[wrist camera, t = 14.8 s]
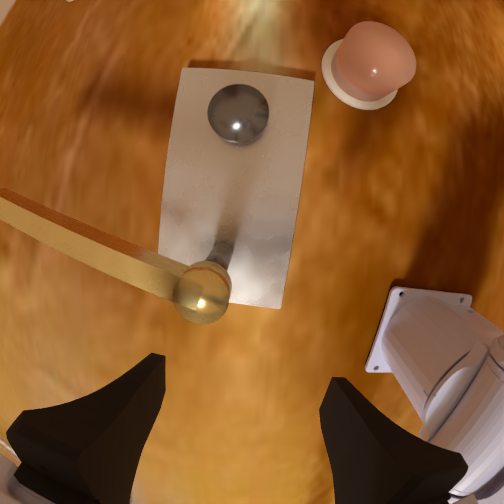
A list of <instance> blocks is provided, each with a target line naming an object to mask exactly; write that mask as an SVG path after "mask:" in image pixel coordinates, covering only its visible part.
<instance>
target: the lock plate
mask: <svg viewBox="0 0 504 504" xmlns="http://www.w3.org/2000/svg"><path fill="white" fill-rule="evenodd" d="M314 82H315V81H311V80H306V79H300V78H294V77H288V76H282V75H275V74H268V73H260V72H251V71H241V70H229V69H212V68H182V72H181V77H180V82H179V87H178V92H177V97H176V103H175V108H174V114H173V120H172V126H171V133H170V139H169V146H168V154H167V161H166V169H165V178H164V187H163V196H162V207H161V219H160V232H159V248H158V254H160V255H162V256H165V257H167V258H170V259H172V260H175V261H178V262H180V263H183V264H185V265H188V266H190V265H191V264H193V263H195V262H198V261H212V262H215V263H217V264H219V265H221V266H222V267H223V268H224V269H225V270H226V271H227V272H228V274H229V276H230V278H231V282H232V291H231V295H230V300H229V302H231V303H238V304H245V305H253V306H260V307H268V308H276V309H280V308H281V303H282V297H283V292H284V286H285V281H286V275H287V270H288V264H289V258H290V252H291V247H292V241H293V235H294V229H295V222H296V216H297V210H298V203H299V197H300V190H301V183H302V177H303V170H304V163H305V155H306V148H307V140H308V133H309V125H310V117H311V109H312V100H313V92H314Z"/></svg>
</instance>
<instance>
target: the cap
mask: <svg viewBox="0 0 504 504" xmlns="http://www.w3.org/2000/svg"><path fill="white" fill-rule="evenodd" d="M415 71H416V59H415V55H414V52H413V50H412V48H411V46H410V45H409V43H408V42H407V41H406V39H405V38H404V37H403V36H402V35H401V34H400V33H398V32H397V31H396V30H394V29H393V28H391V27H389V26H387V25H385V24H382V23H379V22H374V21H365V22H360V23H357V24H355V25H354V26H353V27H351V29H350V30H349V31H348V33H347V34H346V36H345V38H344V39H343V41H342V42H341V44H340V45H339V47H338V49H337V50H336V52H335V53H334V55H333V57H332V60H331V72H332V75H333V78H334V80H335V82H336V83H337V85H338V86H339V87H340V88H341V89H342V90H343V91H344V92H345V93H346V94H348V95H349V96H351V97H353V98H355V99H357V100H360V101H366V102H373V101H377V100H380V99H382V98H384V97H385V96H387V95H388V94H390V93H392V92H393V91H395V90H397V89H398V88H400V87H402V86H403V85H405V84H407V83H408V82H409V81H410V80H411V79H412V78H413V77H414V74H415Z"/></svg>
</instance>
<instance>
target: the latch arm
mask: <svg viewBox="0 0 504 504" xmlns="http://www.w3.org/2000/svg"><path fill="white" fill-rule="evenodd" d="M0 219H1V220H3V221H4V222H6V223H8V224H10V225H11V226H13V227H15V228H17V229H19V230H20V231H22V232H24V233H26V234H28V235H30V236H32V237H33V238H35V239H37V240H39V241H41V242H43V243H45V244H47V245H49V246H51V247H53V248H55V249H57V250H58V251H60V252H62V253H64V254H66V255H69V256H71V257H73V258H75V259H77V260H79V261H81V262H83V263H85V264H87V265H89V266H91V267H94V268H96V269H98V270H100V271H102V272H104V273H107V274H109V275H111V276H113V277H115V278H118V279H120V280H122V281H124V282H127V283H129V284H131V285H134V286H136V287H138V288H141V289H143V290H145V291H148V292H150V293H153V294H155V295H158V296H160V297H162V298H165V299H167V300H170V301H172V302H173V303H174V305H175V307H176V309H177V311H178V312H179V313H180V314H181V315H182V316H183V317H184V318H185V319H187V320H189V321H191V322H193V323H197V324H209V323H213V322H215V321H217V320H218V319H220V318H221V317H222V316H223V315H224V313H225V312H226V310H227V307H228V304H229V300H230V295H231V291H232V282H231V278H230V276H229V274H228V272H227V271H226V270H225V269H224V268H223V267H222V266H221V265H219V264H217V263H215V262H212V261H198V262H195V263H193V264H191V265H190V266H188V265H185V264H183V263H180V262H178V261H175V260H172V259H170V258H167V257H165V256H162V255H160V254H157V253H155V252H152V251H150V250H147V249H145V248H142V247H140V246H137V245H135V244H132V243H130V242H127V241H125V240H122V239H120V238H118V237H115V236H113V235H110V234H108V233H106V232H103V231H101V230H98V229H96V228H94V227H91V226H89V225H87V224H84V223H82V222H80V221H77V220H75V219H73V218H70V217H68V216H66V215H63V214H61V213H59V212H57V211H54V210H52V209H50V208H48V207H45V206H43V205H41V204H39V203H36V202H34V201H32V200H30V199H28V198H26V197H23V196H21V195H19V194H17V193H15V192H13V191H10V190H8V189H6V188H3V189H0Z"/></svg>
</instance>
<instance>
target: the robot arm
mask: <svg viewBox="0 0 504 504" xmlns="http://www.w3.org/2000/svg"><path fill="white" fill-rule="evenodd" d="M401 291H403V293H402V295H400V296H399V293H400V292H401ZM461 298H462V299H461ZM460 299H461V300H460ZM471 302H472V296H471V295H469V294H462V293H452V292H443V291H433V290H424V289H415V288H406V287H398V286H395V287H393V288H392V289H391V290H390V292H389V296H388V299H387V303H386V306H385V310H384V313H383V316H382V319H381V322H380V325H379V328H378V331H377V334H376V337H375V340H374V343H373V346H372V349H371V352H370V354H369V357H368V360H367V362H366V365H365V369H366V371H367V372H393V374H394V376H395V377H396V379H397V380H398V382H399V384H400V385H401V387H402V389H403V390H404V392H405V393H406V395H407V397H408V398H409V400H410V402H411V403H412V405H413V407H414V408H415V410H416V412H417V414H418V415H419V417H420V419H421V420H422V422H423V425H422V428H421V430H420V431H419V435H420V437H421V439H420V438H418V437H416V436H414V435H413V434H411V433H409V432H407V431H406V430H404V429H403V428H401V427H400V426H398V425H397V424H395V423H394V422H393V421H391V420H390V419H389V418H387V417H386V416H385V415H384V414H383V413H381V412H380V411H379V410H378V409H377V408H376V407H375V406H373V405H372V404H371V403H370V402H369V401H368V400H367V399H366V398H365V397H364V396H363V395H362V394H361V393H360V392H359V391H358V390H357V389H356V388H355V387H354V386H353V385H352V384H351V383H350V382H349V381H348V380H347V379H346V378H344V377H332V379H331V381H330V384H329V386H328V389H327V392H326V394H325V397H324V399H323V402H322V404H321V406H320V409H319V412H320V422H321V429H322V433H323V437H324V441H325V445H326V449H327V453H328V457H329V460H330V464H331V469H332V474H333V483H334V493H335V504H449V503H452V504H504V332H503V331H502V330H501V329H500V328H498V327H497V326H496V325H494V324H493V323H492V322H490V321H489V320H488V319H486V318H485V317H483V316H482V315H481V314H479V313H478V312H477V311H475V310H474V309H472V308H471V307H470V305H471ZM375 366H377V367H376V368H374V367H375ZM164 394H165V356H164V355H159V354H155V353H151V354H149V355H148V356H147V357H146V358H144V359H143V360H142V361H141V362H139V363H138V364H137V365H136V366H134V367H133V368H132V369H130V370H129V371H127V372H126V373H125V374H123V375H122V376H121V377H119V378H118V379H116V380H114V381H113V382H111V383H110V384H108V385H106V386H105V387H103V388H101V389H99V390H97V391H95V392H93V393H91V394H89V395H87V396H84V397H82V398H79V399H76V400H74V401H71V402H68V403H64V404H61V405H57V406H52V407H48V408H42V409H34V410H24V411H23V412H22V413H21V414H20V415H19V416H18V417H17V419H16V420H15V421H14V422H13V424H12V425H11V426H10V427H9V429H8V430H7V432H6V435H7V439H8V441H9V443H10V445H11V447H12V448H13V450H14V451H15V453H16V455H17V456H18V458H19V459H20V461H21V462H22V463H21V464H20V466H19V467H17V466H16V465H15V464H14V463H13V462H12V461H10V460H9V459H8V458H6V457H5V456H3V455H2V454H0V504H129V499H130V494H131V490H132V485H133V482H134V478H135V474H136V470H137V466H138V463H139V459H140V456H141V453H142V450H143V447H144V445H145V443H146V440H147V438H148V436H149V433H150V431H151V429H152V427H153V424H154V422H155V420H156V418H157V415H158V413H159V411H160V408H161V405H162V401H163V398H164Z"/></svg>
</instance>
